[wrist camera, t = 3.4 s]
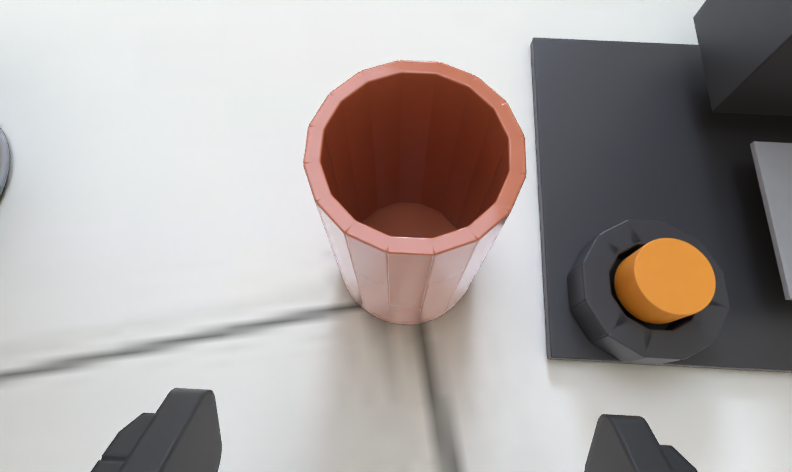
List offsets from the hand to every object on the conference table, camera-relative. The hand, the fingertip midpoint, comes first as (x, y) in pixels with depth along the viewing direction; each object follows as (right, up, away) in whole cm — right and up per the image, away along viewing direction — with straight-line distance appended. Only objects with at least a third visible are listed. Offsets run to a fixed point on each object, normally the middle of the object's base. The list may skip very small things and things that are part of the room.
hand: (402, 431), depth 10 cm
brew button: (+11, +2, +11) cm, 16 cm away
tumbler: (0, +3, +14) cm, 14 cm away
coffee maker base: (+17, +6, +15) cm, 24 cm away
